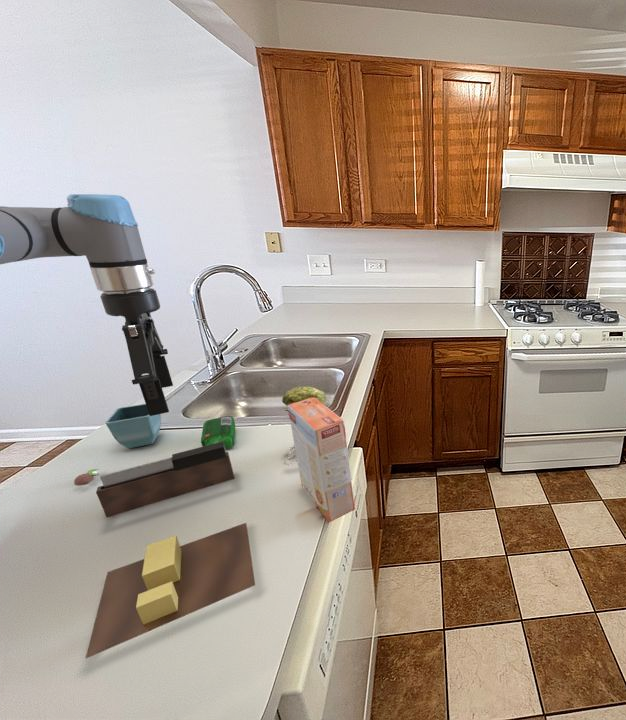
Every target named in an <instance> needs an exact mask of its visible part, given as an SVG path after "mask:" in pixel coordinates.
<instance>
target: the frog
mask: <svg viewBox="0 0 626 720" xmlns="http://www.w3.org/2000/svg"><path fill="white" fill-rule="evenodd" d="M313 397H315V398H316V399H318V400H319V401H320V402H321V403H322V404H324V405H325V404H326V402H327V396H326V392H324V391H322V390H320V389H317V388H316V387H313V386H298V387H297V386H296V387H293V388H291V389H290V390H286V392H285V394H284V395H283V396H282V400H281V401H282V404H284V405H285V406H286V407H282V409H283V411H284V412H288V406H287V405H289V404H292V403H296V402H299V401H302V400H305V399H308V398H313ZM288 450H290V451H288V452H287V453H288V457H287V458H286V460H284V461H283V462H282V463H283V464H284V465H287V466H288V467H289V466H290V465H293V464H296V463H298V461H297V456H296V450H295V445H294V444H292V445H291V446H289V448H288ZM292 454H293V455H292Z"/></svg>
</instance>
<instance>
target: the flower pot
mask: <svg viewBox="0 0 626 720" xmlns="http://www.w3.org/2000/svg"><path fill="white" fill-rule="evenodd" d="M105 425H106V427H107V429H108V430H109V432H110V434H111V435H112V436H113V438H114V439H115V441H116V442H117V443H118V444H120V445H121V446H123V447H125V448H127V449H134V448H138V447H144V446H149V445H153V444H154V443H155V441H156V439H157V437H158V436H159V433H160V430H161V426H162V414H158V415H153V416H150V415H149V412H148V409H147V406H146V403H141V404H137V405H136V404H135V405H129V406H123V407H118V408H116V409H115V410H114V412H113V413H112V414H111V416H110V417H108V419H107V420H106V421H105Z"/></svg>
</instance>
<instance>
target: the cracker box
mask: <svg viewBox="0 0 626 720" xmlns="http://www.w3.org/2000/svg"><path fill="white" fill-rule="evenodd" d="M286 407H288V411H287V413H288V417H289V422H290V427H291V432H292V438H293V445H295V451H296V456H297V461H298V462H297V467H298V473H299V478H300V483H301V486H302V488H303V489H304V491H305V492H306V493H307V495H308V496H309V498H311V500H312V501H313V502H314V503H315V505H316V508H317V509H318V510H319V512H320V513H321V515H322V516H323V517H324V518H325V519H326V521H327V522H328V523H331V522H333V521H335V520H337V519H339V518H341V517H344V516H345V515H347V514H349V513H350V512H353V511H355V510H356V506H355V498H354V491H353V483H352V473H351V465H350V459H349V451H348V443H347V442H348V441H347V434H346V425H345V420H344V419H343V418H341V416H339V415H337V413H336V412H334V411H333V410H331V408H329V407H327V406H326V405H325V404H322V403H321V402H320V401H319V400H318V399H316V398H315V397H313V398H308V399H305V400H302V401H299V402H296V403H292V404H289V405H287V406H286Z"/></svg>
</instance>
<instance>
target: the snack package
mask: <svg viewBox="0 0 626 720" xmlns="http://www.w3.org/2000/svg"><path fill="white" fill-rule="evenodd" d="M219 442H224V446H225V450H228V449H231V448H232V447H234V446H235V444H236V421H235V418H234V416H231V415H226V416H221V417H217V418H212V419H207V420H206V421H205V422H203V425H202V430H201V437H200V443H201V447H203V446H207V445H211V444H215V443H219Z"/></svg>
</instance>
